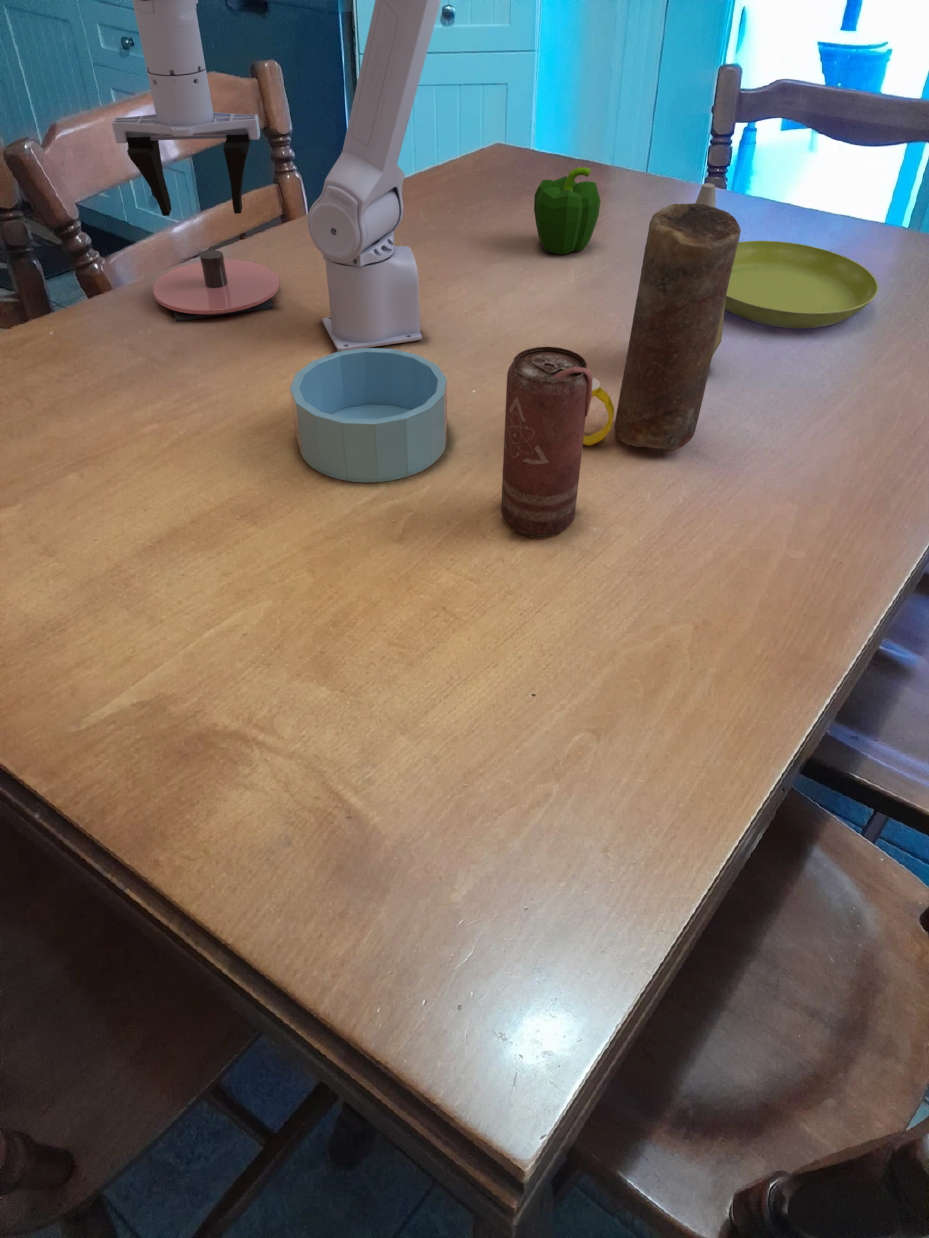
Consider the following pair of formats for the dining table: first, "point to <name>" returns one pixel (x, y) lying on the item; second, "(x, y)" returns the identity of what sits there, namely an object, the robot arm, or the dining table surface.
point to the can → (544, 439)
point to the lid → (216, 285)
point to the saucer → (796, 285)
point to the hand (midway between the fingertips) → (202, 211)
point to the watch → (610, 409)
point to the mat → (187, 316)
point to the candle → (675, 324)
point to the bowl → (370, 414)
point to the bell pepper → (566, 212)
